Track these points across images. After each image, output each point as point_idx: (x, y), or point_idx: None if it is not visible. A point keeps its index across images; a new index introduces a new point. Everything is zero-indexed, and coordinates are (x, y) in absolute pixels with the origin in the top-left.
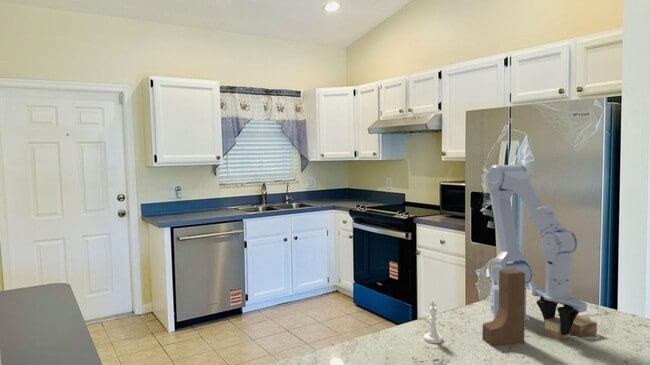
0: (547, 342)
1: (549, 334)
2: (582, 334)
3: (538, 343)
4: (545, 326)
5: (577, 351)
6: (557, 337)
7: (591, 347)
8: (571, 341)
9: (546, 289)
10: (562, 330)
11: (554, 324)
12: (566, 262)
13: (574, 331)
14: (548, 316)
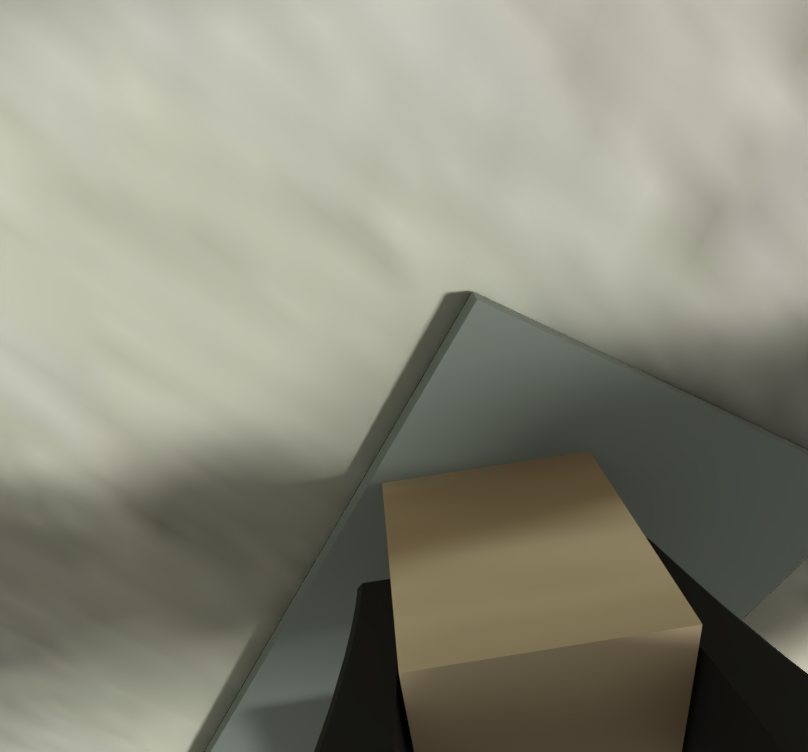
0: (418, 345)
1: (528, 480)
2: None
3: (429, 197)
4: (633, 533)
5: (87, 496)
6: (400, 504)
7: (180, 661)
8: None
9: None
10: (364, 630)
11: (482, 640)
12: None
13: None
14: (722, 727)
